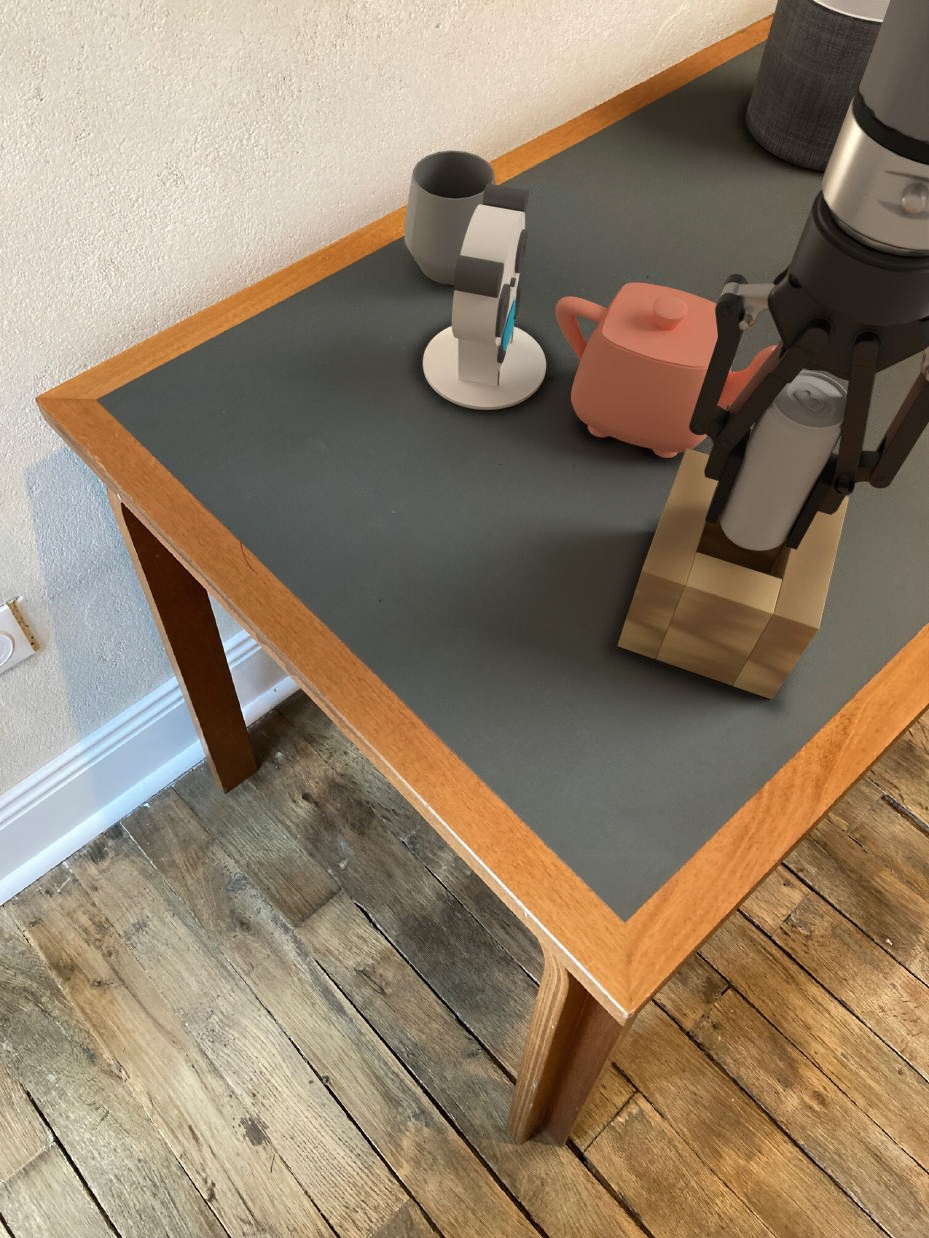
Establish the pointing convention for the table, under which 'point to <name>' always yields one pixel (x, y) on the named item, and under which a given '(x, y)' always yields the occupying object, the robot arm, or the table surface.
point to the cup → (443, 209)
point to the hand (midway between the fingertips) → (754, 520)
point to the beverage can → (783, 461)
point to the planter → (811, 75)
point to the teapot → (646, 365)
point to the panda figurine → (488, 313)
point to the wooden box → (728, 592)
